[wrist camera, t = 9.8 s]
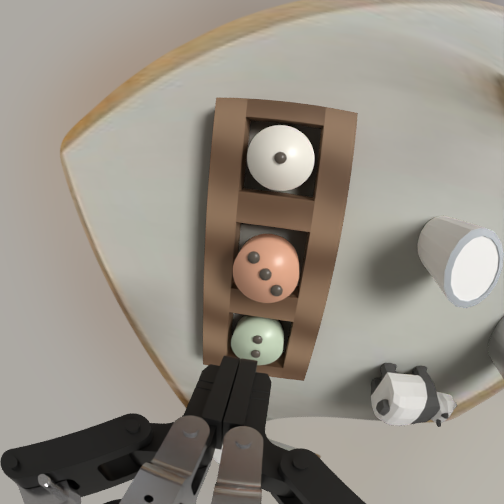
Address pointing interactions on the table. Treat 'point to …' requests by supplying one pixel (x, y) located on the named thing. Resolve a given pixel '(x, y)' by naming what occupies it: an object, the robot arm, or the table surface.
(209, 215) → the button board
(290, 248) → the button three
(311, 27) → the table surface
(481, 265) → the white tapered cylinder
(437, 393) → the giant panda
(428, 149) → the table surface
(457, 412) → the table surface
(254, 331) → the button two
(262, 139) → the button one
